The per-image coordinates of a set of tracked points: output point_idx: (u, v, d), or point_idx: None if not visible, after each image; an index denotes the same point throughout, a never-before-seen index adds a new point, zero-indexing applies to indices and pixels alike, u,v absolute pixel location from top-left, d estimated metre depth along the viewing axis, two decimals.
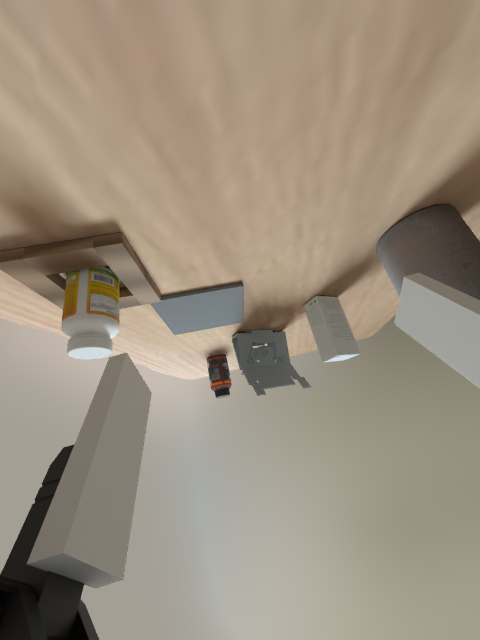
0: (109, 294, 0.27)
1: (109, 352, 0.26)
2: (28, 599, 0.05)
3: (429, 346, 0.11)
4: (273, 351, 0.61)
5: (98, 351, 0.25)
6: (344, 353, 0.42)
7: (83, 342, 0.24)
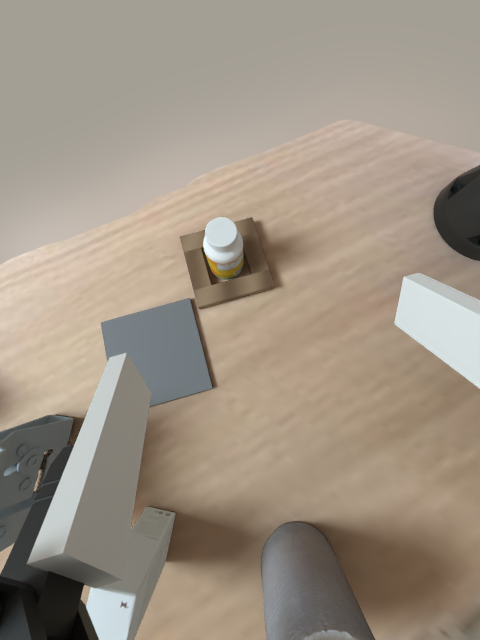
0: (237, 266, 0.35)
1: (219, 244, 0.29)
2: (28, 599, 0.05)
3: (429, 346, 0.11)
4: None
5: (224, 237, 0.29)
6: (133, 614, 0.21)
7: (237, 232, 0.30)
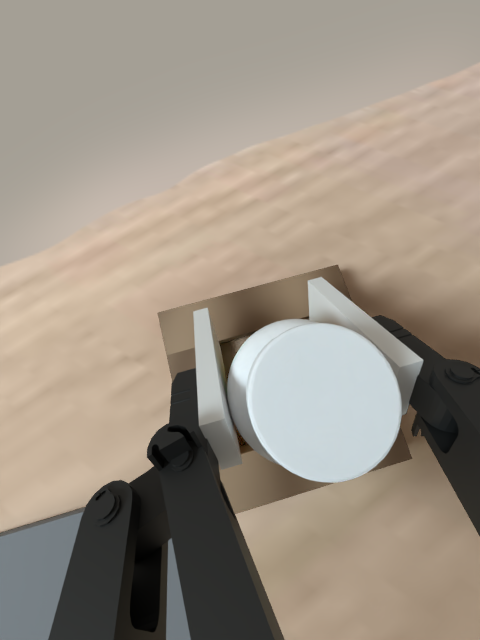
0: None
1: (320, 473, 0.06)
2: (206, 457, 0.06)
3: None
4: None
5: (343, 433, 0.06)
6: None
7: None
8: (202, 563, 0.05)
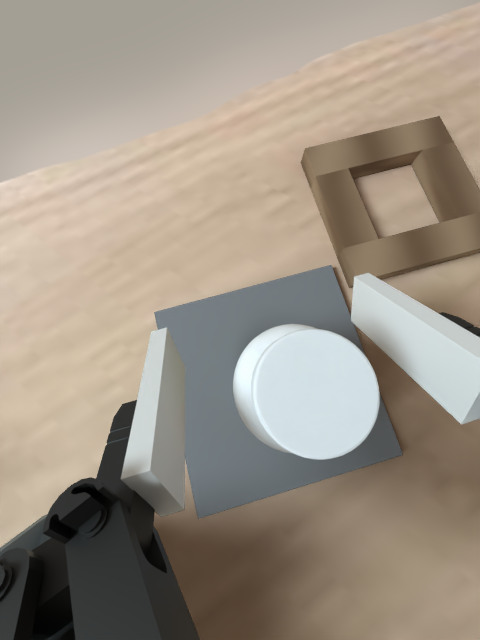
0: None
1: (313, 451, 0.07)
2: (125, 511, 0.06)
3: (376, 340, 0.12)
4: None
5: (331, 419, 0.07)
6: None
7: None
8: None
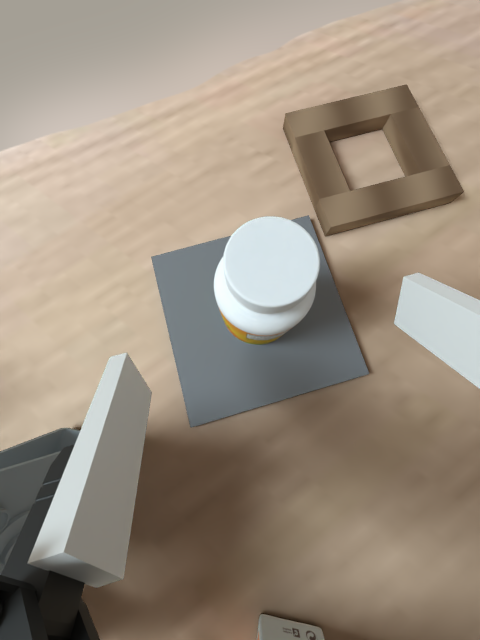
0: None
1: (267, 300, 0.09)
2: (29, 598, 0.05)
3: (428, 346, 0.11)
4: None
5: (282, 278, 0.10)
6: None
7: None
8: None
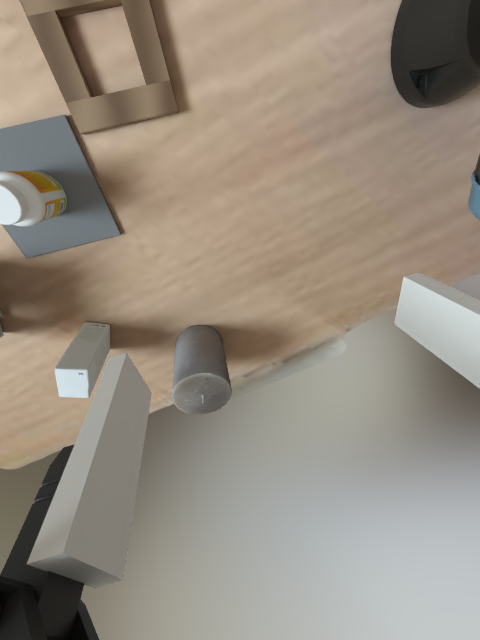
0: (52, 216, 0.30)
1: (2, 222, 0.25)
2: (28, 599, 0.05)
3: (429, 346, 0.11)
4: None
5: (5, 213, 0.24)
6: (89, 376, 0.35)
7: (22, 202, 0.25)
8: None
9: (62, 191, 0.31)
